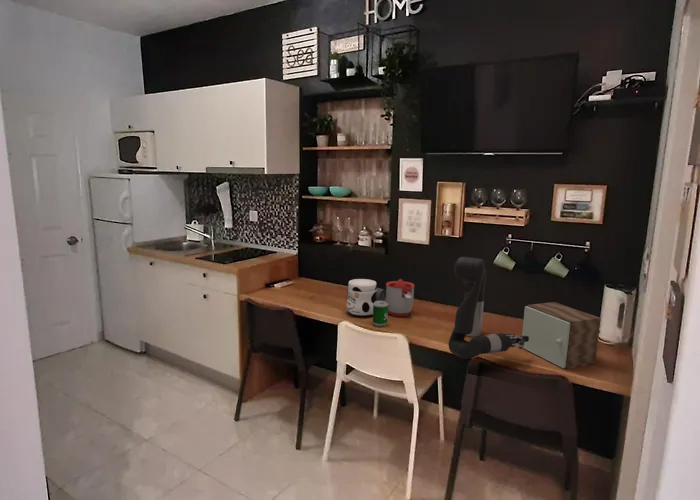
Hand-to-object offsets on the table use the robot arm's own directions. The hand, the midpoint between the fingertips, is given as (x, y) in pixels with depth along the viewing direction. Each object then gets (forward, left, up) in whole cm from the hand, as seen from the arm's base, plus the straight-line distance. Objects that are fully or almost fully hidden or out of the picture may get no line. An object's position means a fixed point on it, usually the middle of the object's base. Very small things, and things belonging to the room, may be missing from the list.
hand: (527, 338), depth 187 cm
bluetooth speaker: (-56, +86, -9) cm, 103 cm away
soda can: (-55, +45, -9) cm, 72 cm away
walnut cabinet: (+16, +2, -9) cm, 18 cm away
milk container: (-62, +63, -9) cm, 89 cm away
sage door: (+7, 0, -8) cm, 11 cm away
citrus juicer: (-41, +61, -9) cm, 74 cm away
